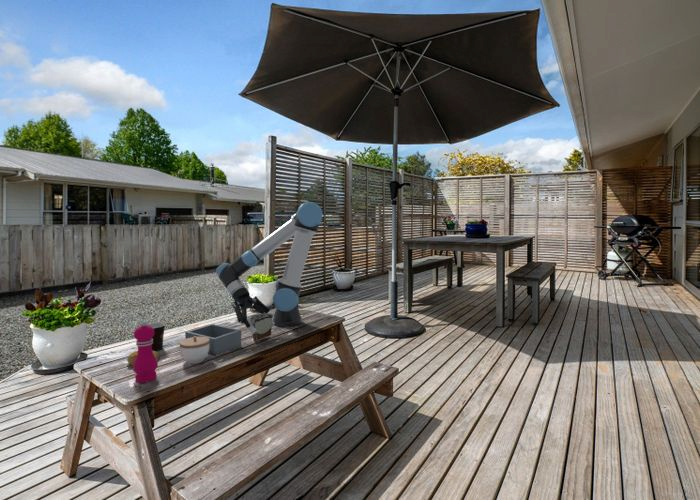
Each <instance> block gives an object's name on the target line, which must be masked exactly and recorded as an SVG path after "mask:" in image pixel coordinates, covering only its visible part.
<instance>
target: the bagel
mask: <svg viewBox="0 0 700 500" xmlns="http://www.w3.org/2000/svg"><path fill="white" fill-rule="evenodd" d="M152 351H153V350H152ZM137 354H138V350H137V351H133V352H131V353H130V354H129V355H128V356H127V358H126V361H127V362H128V364H129V365H131V366H132V367H133V366H134V362H135V360H136V357H137ZM153 354H154V356H155V358H156V360H157V361H158V359H159V358H160V354H159V353H158V351H153Z"/></svg>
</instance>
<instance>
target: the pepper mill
mask: <svg viewBox="0 0 700 500" xmlns="http://www.w3.org/2000/svg"><path fill="white" fill-rule="evenodd" d="M147 324H148V322H147V321H145V320H143V321H142V322H141V323H140V325H139V326H138V327H137V328H136V329H135V330H134V332H133V337H134V339H135V340H136V341H135V346H137V351H138V354H137V357H136V360H135V362H134V366H132V370H133V372H134V373H135V376H134V377H135V379H134V381H135V382H136V383H138V382H139V383H140V384H141V383H142V384H143V382H144V383H147V382H148V383H149V382H151V381H154V380H155V379H156V378H157V371H156V370H157V368H158V367H159V366H158V359H157V360H156V358H155V356H154V354H153V351H152V343H153V339H152V337H153V336H154V329H153V328H152V327H151V326H148V325H147Z"/></svg>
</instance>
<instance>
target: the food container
mask: <svg viewBox="0 0 700 500" xmlns="http://www.w3.org/2000/svg"><path fill="white" fill-rule="evenodd" d="M273 318H274V315H273V313H269V312H268V313H265V312H264V314H261V313H257V314H253V315H252V316H250V318H249V319H250V321H251V324H253V326H254V327H255V328H256V330H257V331H256V332H255V333H254V334H252V339H253V341H255V342H258V341H260V340H263V339H266V338H268V337H271V336H272V330H273V329H272V328H273V326H272V321H273Z"/></svg>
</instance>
